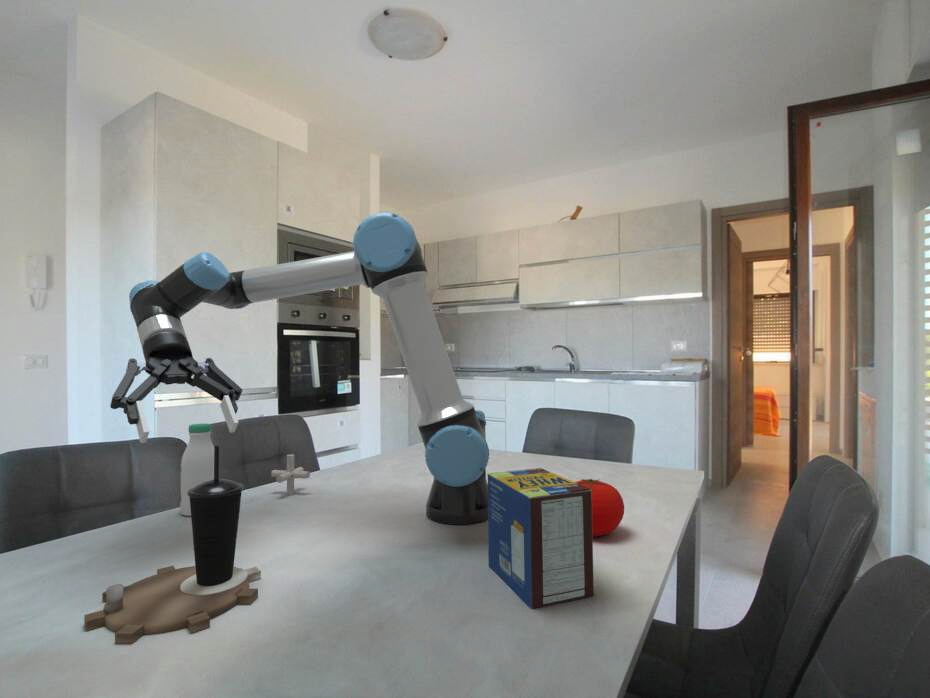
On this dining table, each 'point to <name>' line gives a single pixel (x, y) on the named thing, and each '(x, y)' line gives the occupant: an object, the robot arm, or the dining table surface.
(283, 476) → the pipe connector
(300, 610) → the dining table surface
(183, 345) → the robot arm
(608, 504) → the tomato
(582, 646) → the dining table surface
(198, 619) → the sprocket plate
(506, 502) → the protein box
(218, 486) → the drinking cup
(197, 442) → the milk bottle
